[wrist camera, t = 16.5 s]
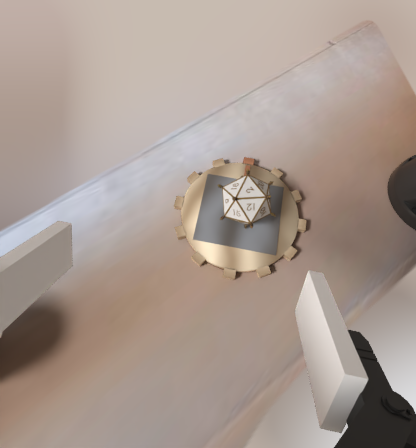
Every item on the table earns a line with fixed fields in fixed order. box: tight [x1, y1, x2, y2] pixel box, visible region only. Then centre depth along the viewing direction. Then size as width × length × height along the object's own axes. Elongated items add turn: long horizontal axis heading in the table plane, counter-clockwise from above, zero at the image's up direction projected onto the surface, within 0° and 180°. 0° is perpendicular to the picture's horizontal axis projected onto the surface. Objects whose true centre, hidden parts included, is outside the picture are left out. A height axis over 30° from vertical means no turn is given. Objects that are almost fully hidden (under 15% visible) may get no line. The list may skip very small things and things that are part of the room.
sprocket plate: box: [174, 157, 306, 280], centre depth 50 cm, size 21×21×1 cm
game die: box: [218, 169, 276, 229], centre depth 45 cm, size 9×8×10 cm
